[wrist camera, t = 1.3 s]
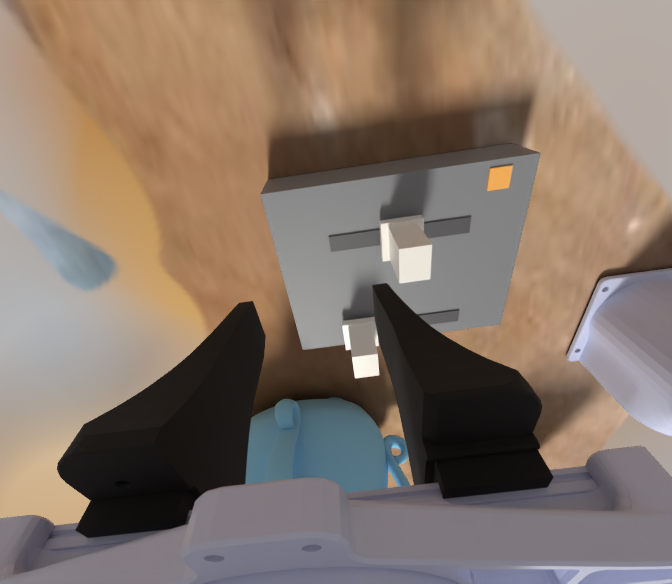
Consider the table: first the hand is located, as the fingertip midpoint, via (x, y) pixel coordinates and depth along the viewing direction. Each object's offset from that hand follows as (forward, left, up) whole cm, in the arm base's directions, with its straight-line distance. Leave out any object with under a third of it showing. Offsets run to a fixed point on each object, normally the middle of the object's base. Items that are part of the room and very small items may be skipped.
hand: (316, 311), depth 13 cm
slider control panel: (-2, -5, -9) cm, 11 cm away
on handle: (-7, -2, -6) cm, 9 cm away
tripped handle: (0, -5, -6) cm, 8 cm away
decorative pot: (-24, +4, -10) cm, 26 cm away
